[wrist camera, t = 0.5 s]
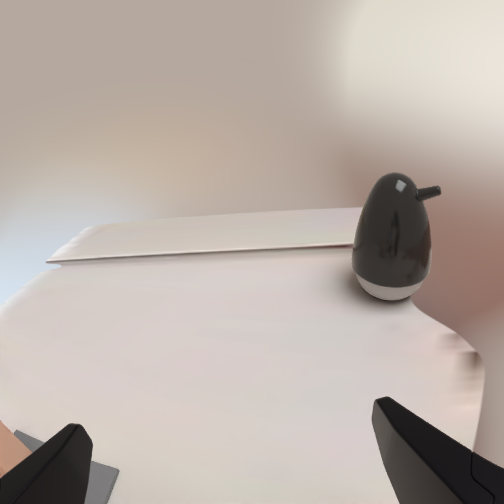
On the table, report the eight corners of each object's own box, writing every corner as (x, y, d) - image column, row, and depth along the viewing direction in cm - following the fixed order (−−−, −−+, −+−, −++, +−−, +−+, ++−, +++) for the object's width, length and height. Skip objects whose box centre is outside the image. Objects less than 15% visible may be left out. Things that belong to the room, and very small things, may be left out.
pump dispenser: (418, 321, 33) (437, 193, 26) (338, 300, 39) (338, 179, 32) (432, 276, 40) (445, 169, 33) (365, 261, 46) (367, 159, 39)
